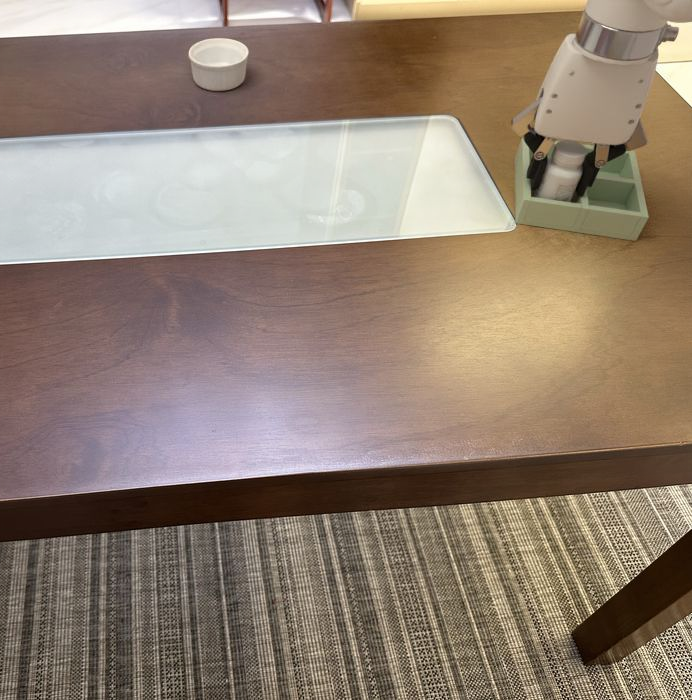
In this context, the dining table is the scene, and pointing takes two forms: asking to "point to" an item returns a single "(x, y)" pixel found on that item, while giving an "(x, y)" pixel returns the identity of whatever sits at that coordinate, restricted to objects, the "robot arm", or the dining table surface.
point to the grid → (587, 200)
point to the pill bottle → (562, 172)
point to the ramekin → (218, 63)
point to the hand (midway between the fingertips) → (556, 185)
